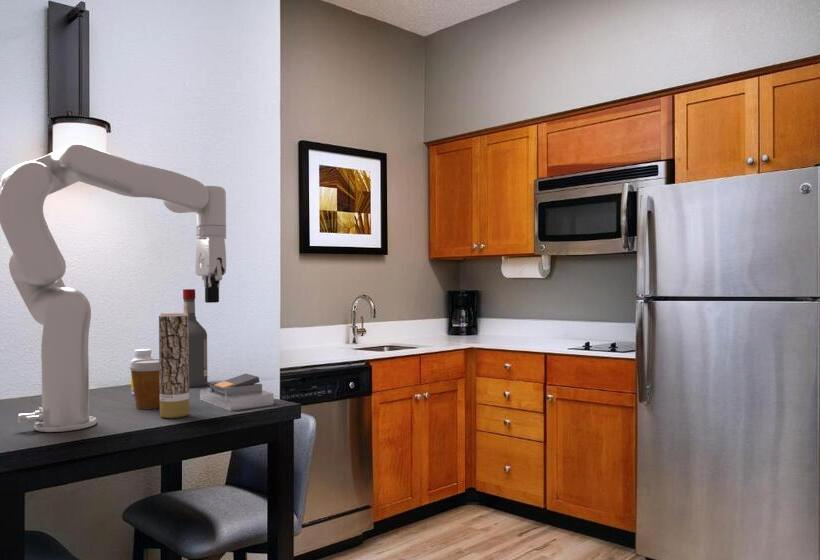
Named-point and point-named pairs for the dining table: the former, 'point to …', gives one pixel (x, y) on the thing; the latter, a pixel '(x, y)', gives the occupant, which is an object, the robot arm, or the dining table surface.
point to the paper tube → (174, 364)
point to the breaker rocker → (235, 382)
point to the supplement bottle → (140, 355)
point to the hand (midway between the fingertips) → (212, 302)
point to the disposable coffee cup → (146, 383)
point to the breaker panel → (237, 397)
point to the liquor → (195, 343)
